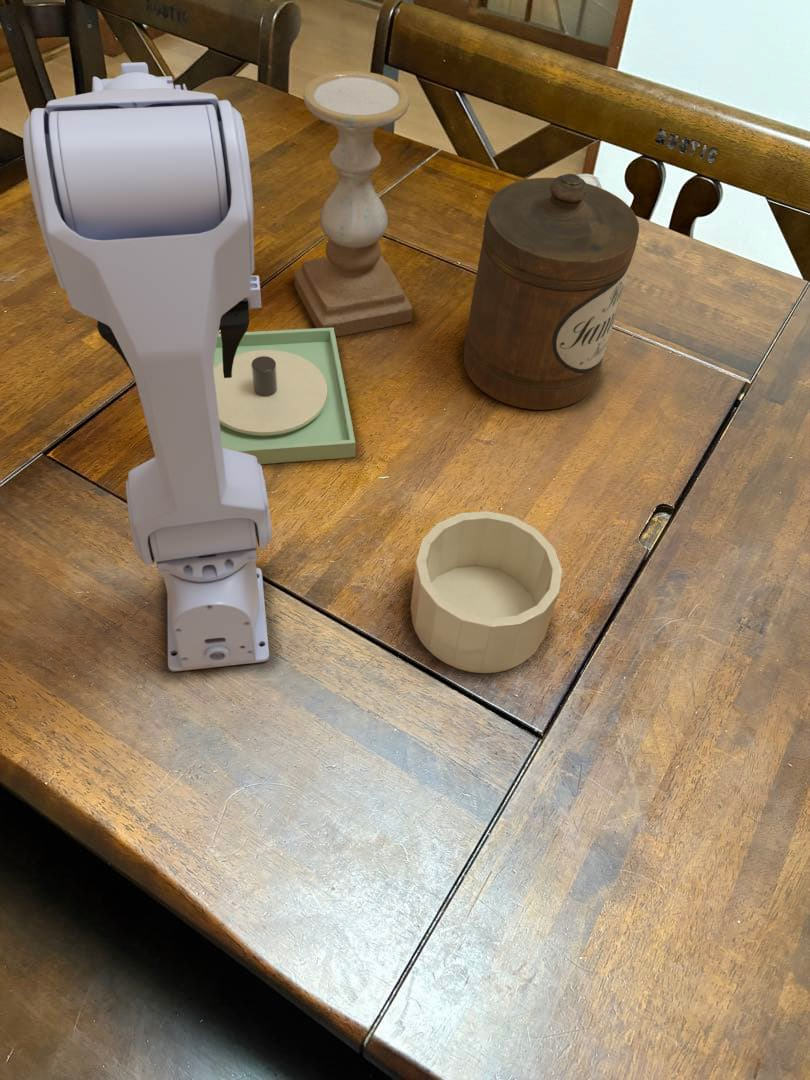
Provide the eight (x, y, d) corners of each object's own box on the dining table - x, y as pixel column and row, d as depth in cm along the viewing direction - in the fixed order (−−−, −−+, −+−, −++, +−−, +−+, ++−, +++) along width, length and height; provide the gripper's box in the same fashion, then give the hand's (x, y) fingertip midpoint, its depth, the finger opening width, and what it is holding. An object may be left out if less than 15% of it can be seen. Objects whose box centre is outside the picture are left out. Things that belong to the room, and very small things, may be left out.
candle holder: (413, 321, 104) (431, 112, 86) (322, 339, 101) (320, 126, 83) (379, 268, 110) (389, 63, 92) (292, 283, 107) (284, 74, 89)
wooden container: (582, 426, 95) (637, 237, 78) (446, 389, 97) (470, 197, 80) (608, 343, 104) (663, 158, 87) (484, 311, 106) (513, 124, 89)
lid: (334, 435, 91) (334, 402, 87) (205, 444, 89) (200, 410, 85) (320, 354, 99) (320, 321, 95) (201, 361, 97) (197, 327, 93)
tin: (561, 665, 76) (579, 617, 70) (424, 680, 74) (431, 633, 69) (526, 556, 83) (540, 506, 78) (401, 568, 81) (406, 517, 76)
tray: (355, 457, 90) (355, 442, 88) (188, 469, 87) (186, 454, 86) (333, 342, 101) (333, 327, 99) (185, 350, 98) (183, 335, 97)
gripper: (253, 207, 75) (262, 341, 86) (70, 212, 73) (102, 349, 83) (258, 256, 71) (267, 390, 81) (63, 263, 69) (98, 400, 79)
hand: (184, 373), depth 82 cm, fingers open, 7 cm apart
